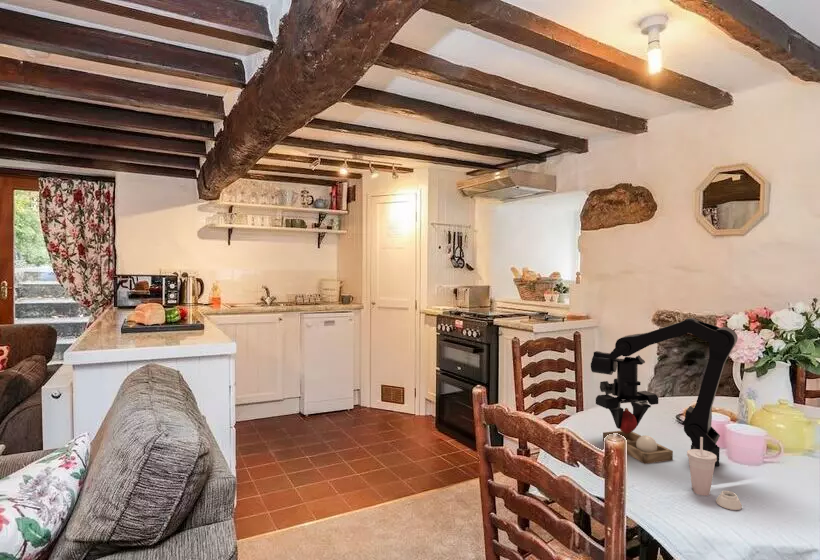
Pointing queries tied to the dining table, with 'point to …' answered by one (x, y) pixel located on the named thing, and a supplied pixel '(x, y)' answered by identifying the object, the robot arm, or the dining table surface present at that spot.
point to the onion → (628, 422)
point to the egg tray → (649, 457)
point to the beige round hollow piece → (729, 500)
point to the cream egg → (646, 444)
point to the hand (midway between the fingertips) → (626, 427)
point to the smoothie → (701, 469)
